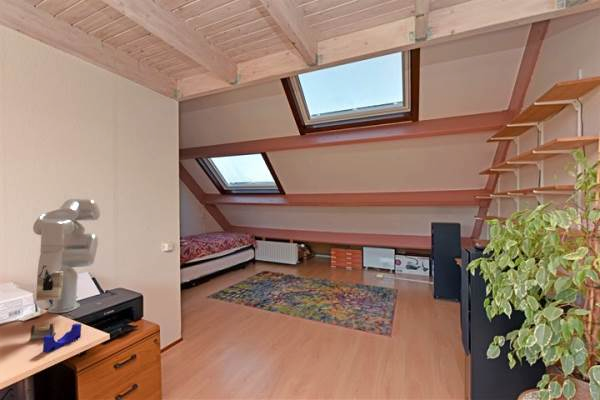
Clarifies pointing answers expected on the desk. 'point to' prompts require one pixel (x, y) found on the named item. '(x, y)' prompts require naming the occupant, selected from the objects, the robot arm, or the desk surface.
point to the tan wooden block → (55, 292)
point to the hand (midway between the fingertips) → (49, 288)
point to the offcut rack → (41, 332)
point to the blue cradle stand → (61, 339)
